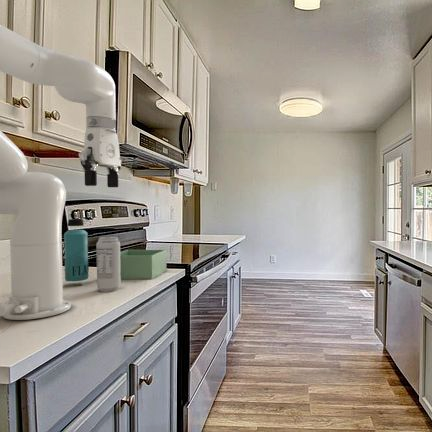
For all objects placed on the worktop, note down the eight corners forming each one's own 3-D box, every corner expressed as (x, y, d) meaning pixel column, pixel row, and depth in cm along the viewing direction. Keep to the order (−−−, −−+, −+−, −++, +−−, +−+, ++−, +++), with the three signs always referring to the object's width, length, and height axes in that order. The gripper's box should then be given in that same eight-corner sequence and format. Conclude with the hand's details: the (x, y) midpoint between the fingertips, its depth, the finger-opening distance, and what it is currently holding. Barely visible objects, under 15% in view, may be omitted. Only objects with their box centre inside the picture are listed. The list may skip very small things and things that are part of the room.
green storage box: (152, 278, 117) (151, 255, 116) (108, 279, 116) (107, 255, 116) (166, 270, 132) (166, 249, 132) (127, 270, 131) (127, 249, 131)
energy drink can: (125, 287, 104) (124, 236, 104) (109, 292, 98) (108, 238, 98) (108, 286, 106) (108, 236, 105) (92, 291, 100) (91, 238, 100)
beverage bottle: (69, 287, 104) (68, 219, 103) (60, 284, 108) (59, 218, 107) (93, 283, 109) (92, 218, 109) (83, 280, 113) (82, 218, 113)
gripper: (93, 118, 92) (94, 184, 93) (130, 131, 110) (131, 187, 110) (66, 119, 93) (68, 185, 94) (108, 132, 110) (109, 187, 111)
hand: (102, 186), depth 102 cm, fingers open, 9 cm apart
